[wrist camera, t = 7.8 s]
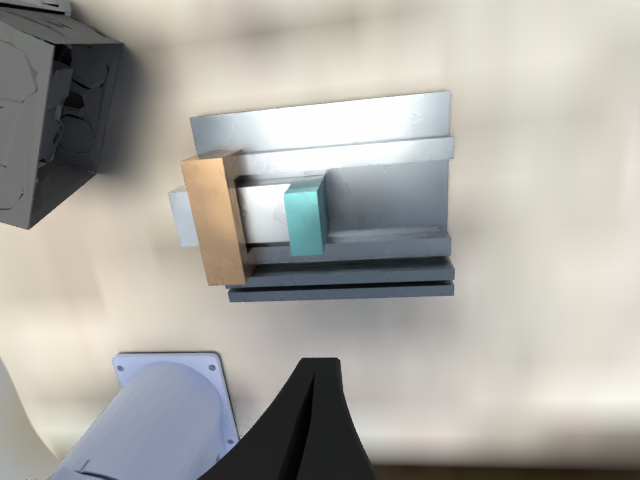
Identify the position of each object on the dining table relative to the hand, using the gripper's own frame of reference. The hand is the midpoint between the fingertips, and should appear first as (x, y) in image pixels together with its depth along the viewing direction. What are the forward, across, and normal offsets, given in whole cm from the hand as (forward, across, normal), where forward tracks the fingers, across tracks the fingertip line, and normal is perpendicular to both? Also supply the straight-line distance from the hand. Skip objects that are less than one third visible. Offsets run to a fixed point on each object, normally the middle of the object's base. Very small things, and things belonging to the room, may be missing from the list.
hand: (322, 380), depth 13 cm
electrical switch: (+10, +13, -10) cm, 20 cm away
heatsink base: (+10, 0, -4) cm, 11 cm away
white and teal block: (+9, +4, -4) cm, 11 cm away
